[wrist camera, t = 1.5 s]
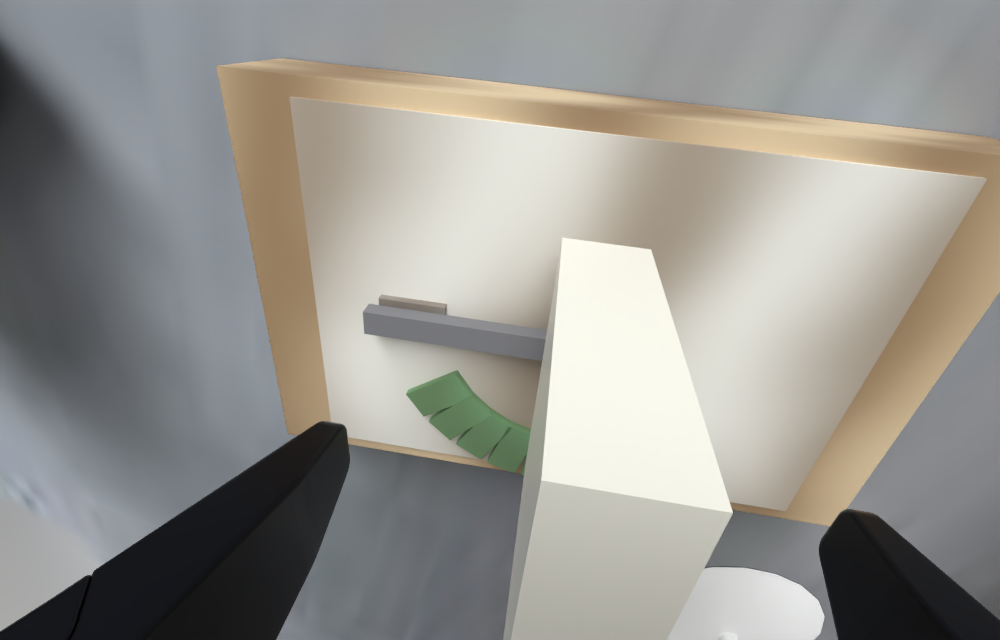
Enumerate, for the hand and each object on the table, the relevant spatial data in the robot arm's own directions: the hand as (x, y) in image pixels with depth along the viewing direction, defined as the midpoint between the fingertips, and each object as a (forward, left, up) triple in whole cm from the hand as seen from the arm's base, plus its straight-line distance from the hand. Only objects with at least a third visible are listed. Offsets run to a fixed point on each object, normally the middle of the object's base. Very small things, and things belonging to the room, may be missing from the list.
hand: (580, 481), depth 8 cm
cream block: (+2, 0, -4) cm, 5 cm away
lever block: (0, 0, -7) cm, 7 cm away
